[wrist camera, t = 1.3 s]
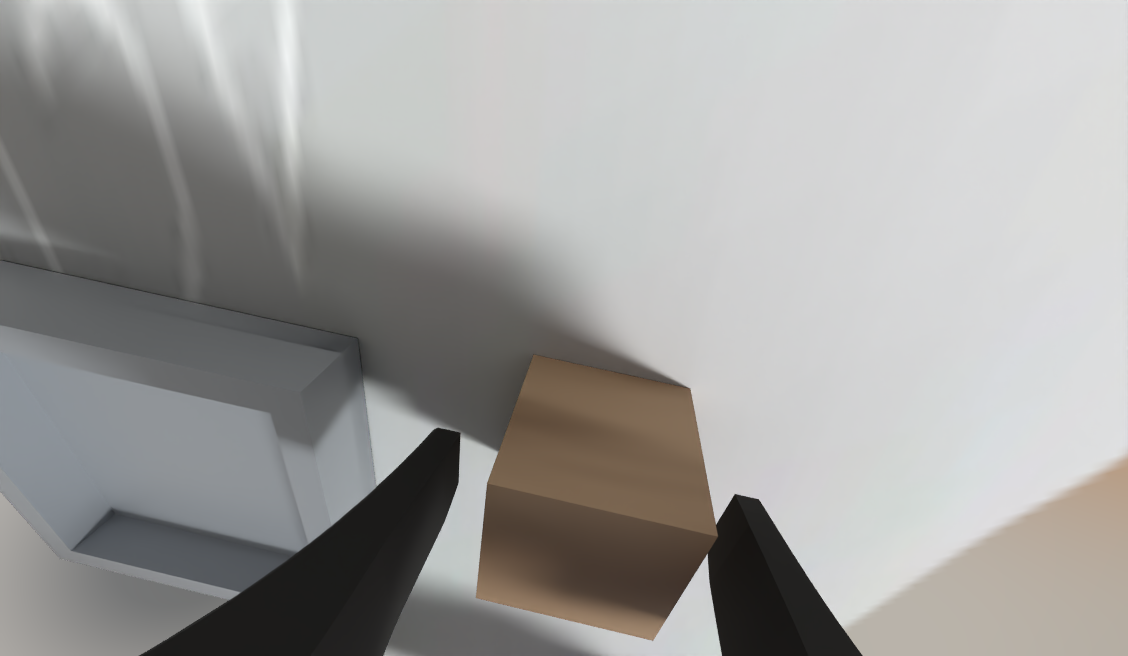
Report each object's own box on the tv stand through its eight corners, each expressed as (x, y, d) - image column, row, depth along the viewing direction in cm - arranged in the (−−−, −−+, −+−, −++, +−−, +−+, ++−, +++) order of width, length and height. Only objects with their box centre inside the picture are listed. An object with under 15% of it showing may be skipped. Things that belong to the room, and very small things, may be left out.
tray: (386, 569, 19) (355, 630, 17) (122, 506, 20) (59, 558, 17) (357, 338, 12) (300, 392, 10) (-49, 249, 13) (-184, 283, 11)
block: (647, 487, 14) (652, 640, 10) (517, 458, 14) (476, 598, 10) (690, 386, 12) (717, 536, 8) (534, 352, 12) (486, 483, 8)
